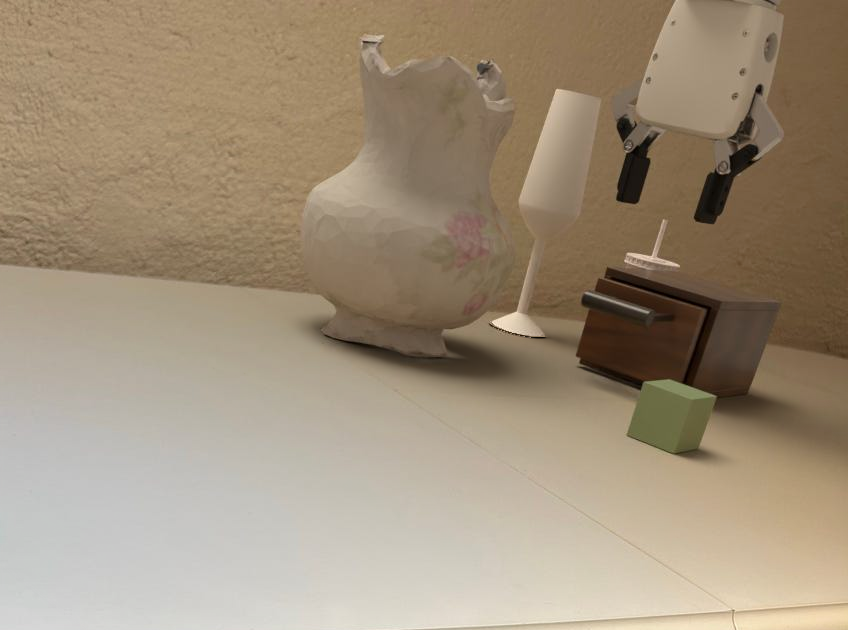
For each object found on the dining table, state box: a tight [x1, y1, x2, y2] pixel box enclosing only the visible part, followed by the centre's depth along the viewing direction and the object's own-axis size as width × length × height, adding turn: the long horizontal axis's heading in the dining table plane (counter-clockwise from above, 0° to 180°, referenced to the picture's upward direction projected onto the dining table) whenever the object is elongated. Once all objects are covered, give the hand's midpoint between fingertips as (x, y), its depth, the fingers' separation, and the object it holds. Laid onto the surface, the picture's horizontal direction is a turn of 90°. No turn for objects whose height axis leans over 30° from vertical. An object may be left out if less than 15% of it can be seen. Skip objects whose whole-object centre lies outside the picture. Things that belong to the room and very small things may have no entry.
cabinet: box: [579, 266, 783, 399], centre depth 107 cm, size 15×13×10 cm
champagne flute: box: [491, 88, 602, 336], centre depth 112 cm, size 7×7×24 cm
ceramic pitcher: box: [299, 34, 517, 358], centre depth 94 cm, size 22×20×25 cm
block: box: [626, 379, 718, 455], centre depth 83 cm, size 4×4×4 cm
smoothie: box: [623, 219, 681, 272], centre depth 122 cm, size 6×6×14 cm
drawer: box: [575, 276, 711, 385], centre depth 103 cm, size 19×11×8 cm, turn 137°
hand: (664, 211), depth 94 cm, fingers open, 7 cm apart
